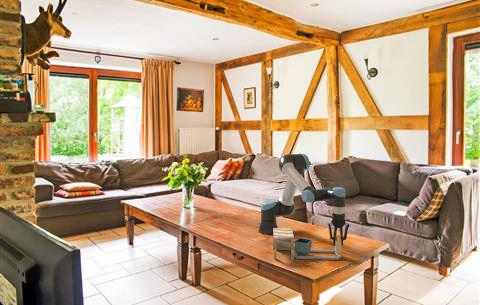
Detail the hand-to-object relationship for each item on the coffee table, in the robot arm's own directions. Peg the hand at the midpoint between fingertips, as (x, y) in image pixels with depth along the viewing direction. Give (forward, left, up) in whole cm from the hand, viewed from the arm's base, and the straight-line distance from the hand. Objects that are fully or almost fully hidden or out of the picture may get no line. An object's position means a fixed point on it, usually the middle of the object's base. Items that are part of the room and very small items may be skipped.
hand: (337, 250), depth 221 cm
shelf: (0, -33, -3) cm, 34 cm away
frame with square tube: (0, -13, -3) cm, 14 cm away
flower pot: (-1, -21, -4) cm, 21 cm away
